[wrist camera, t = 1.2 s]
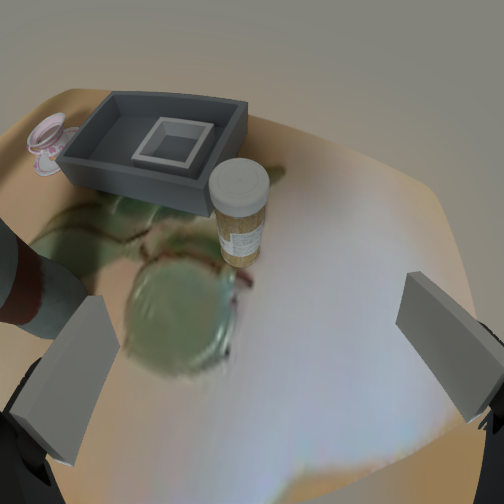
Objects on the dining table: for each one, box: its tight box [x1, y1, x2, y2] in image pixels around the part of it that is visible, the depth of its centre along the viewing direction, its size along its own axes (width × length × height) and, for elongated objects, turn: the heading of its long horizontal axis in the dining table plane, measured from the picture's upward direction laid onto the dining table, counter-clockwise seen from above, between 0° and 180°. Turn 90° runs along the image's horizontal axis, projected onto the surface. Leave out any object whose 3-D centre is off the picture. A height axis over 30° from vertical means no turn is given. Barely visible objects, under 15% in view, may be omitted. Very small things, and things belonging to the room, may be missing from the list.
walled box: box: [55, 91, 248, 218], centre depth 35 cm, size 24×16×6 cm, turn 74°
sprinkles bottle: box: [209, 158, 269, 268], centre depth 26 cm, size 5×5×13 cm
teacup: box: [26, 113, 80, 176], centre depth 36 cm, size 12×12×6 cm
